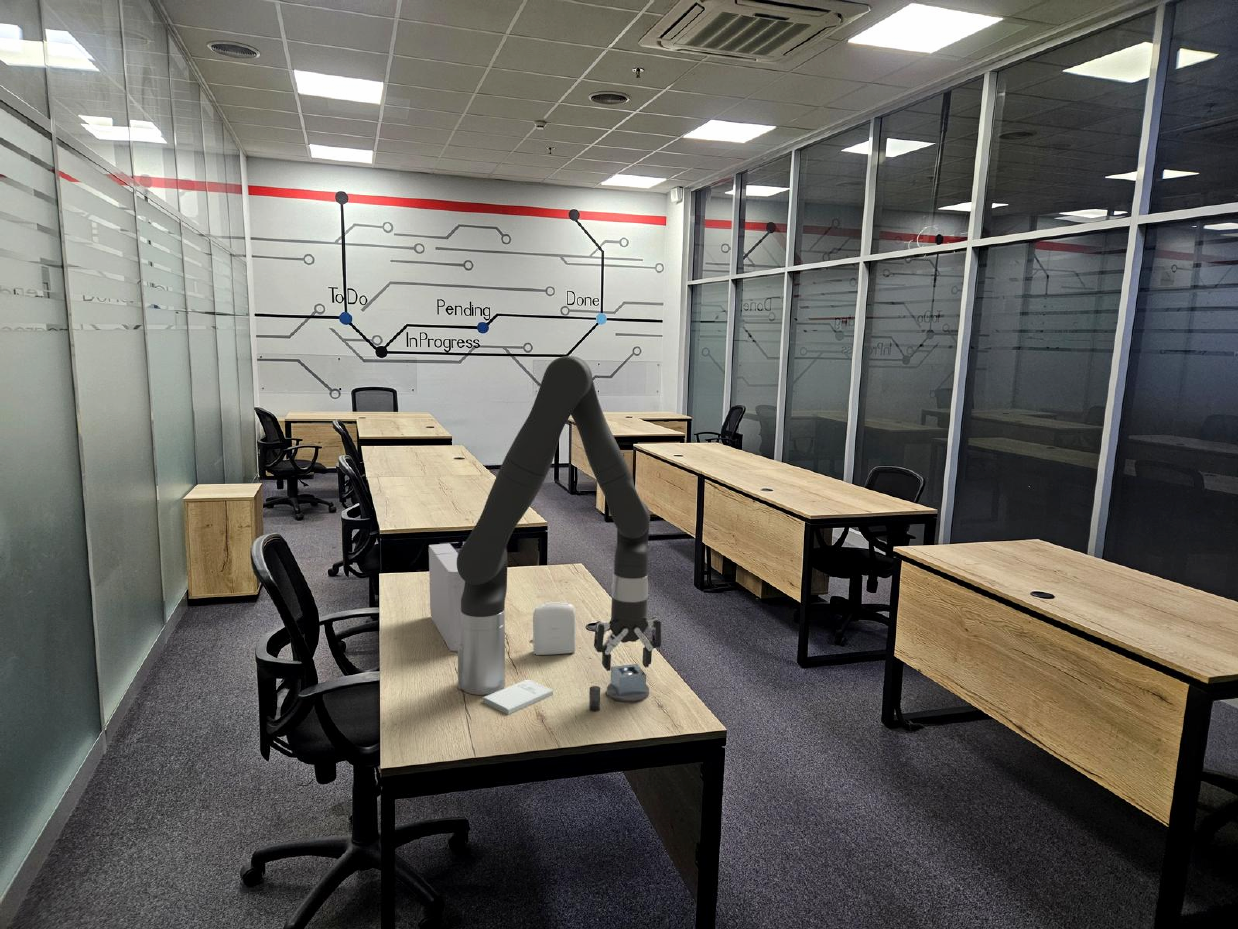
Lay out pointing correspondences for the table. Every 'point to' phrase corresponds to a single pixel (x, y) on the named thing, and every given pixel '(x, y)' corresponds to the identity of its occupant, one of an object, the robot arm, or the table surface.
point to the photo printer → (554, 629)
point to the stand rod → (594, 698)
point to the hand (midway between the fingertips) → (626, 667)
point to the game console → (446, 593)
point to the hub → (627, 698)
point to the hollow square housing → (628, 680)
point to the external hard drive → (517, 696)
